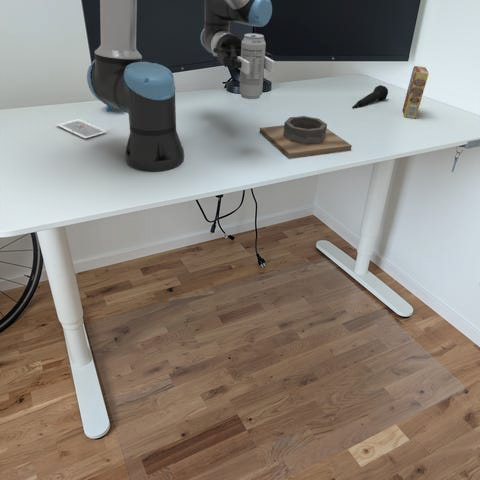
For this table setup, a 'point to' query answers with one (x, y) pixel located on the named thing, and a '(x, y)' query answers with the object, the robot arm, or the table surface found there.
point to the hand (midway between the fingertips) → (260, 67)
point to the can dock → (303, 148)
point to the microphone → (373, 96)
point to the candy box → (415, 91)
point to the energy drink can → (252, 66)
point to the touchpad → (82, 128)
